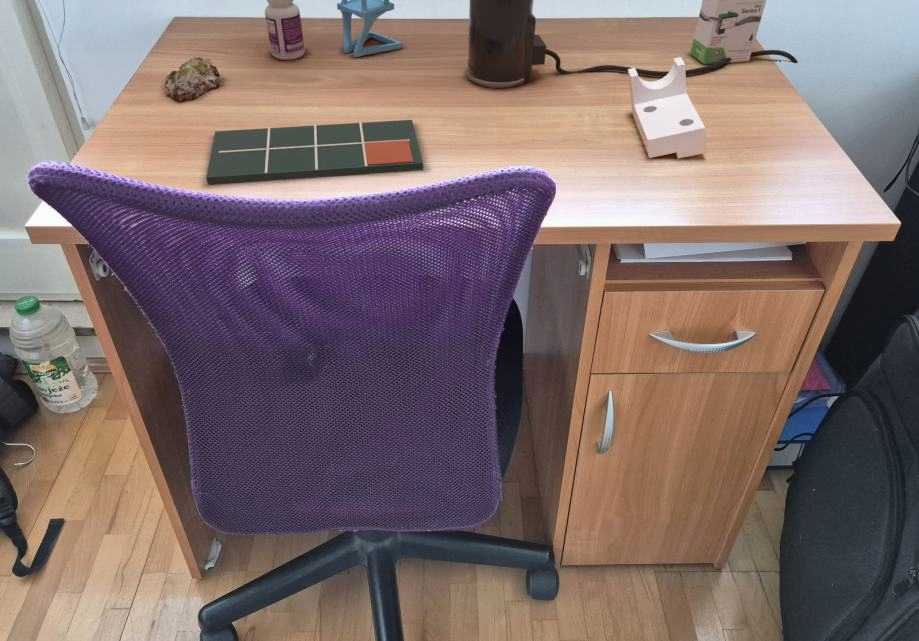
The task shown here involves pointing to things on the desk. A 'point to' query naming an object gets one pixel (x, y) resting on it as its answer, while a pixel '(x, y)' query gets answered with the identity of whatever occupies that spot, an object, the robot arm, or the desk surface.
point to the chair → (365, 25)
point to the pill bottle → (284, 29)
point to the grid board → (313, 151)
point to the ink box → (726, 30)
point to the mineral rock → (192, 79)
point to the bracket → (666, 114)
